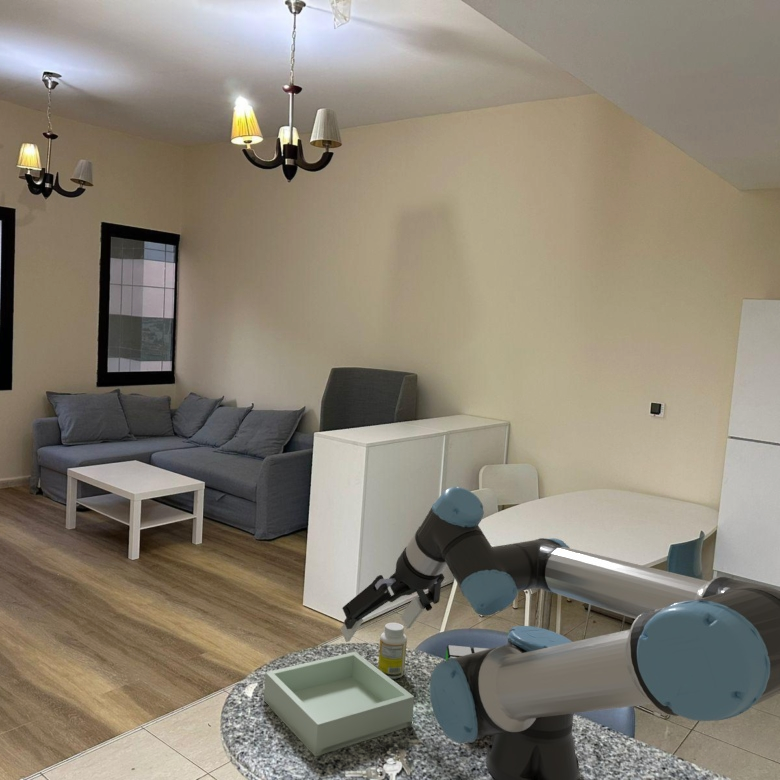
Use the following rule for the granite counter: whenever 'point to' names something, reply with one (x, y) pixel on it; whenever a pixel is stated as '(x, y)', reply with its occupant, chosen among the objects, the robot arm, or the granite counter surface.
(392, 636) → the supplement bottle
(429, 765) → the granite counter surface
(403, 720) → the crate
